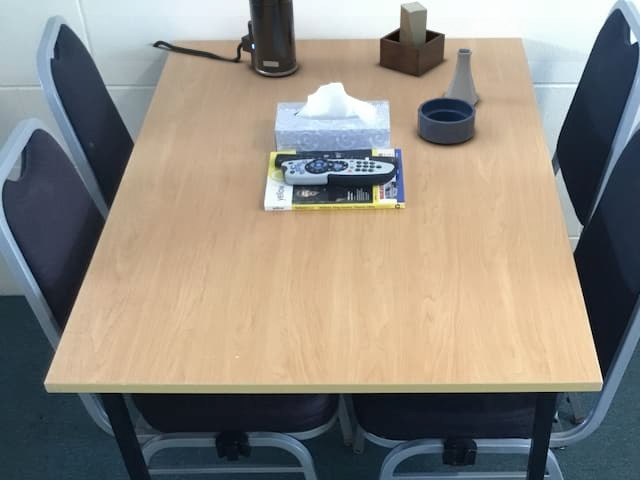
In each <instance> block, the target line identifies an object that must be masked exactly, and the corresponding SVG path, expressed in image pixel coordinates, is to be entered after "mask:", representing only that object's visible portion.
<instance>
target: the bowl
mask: <svg viewBox="0 0 640 480" xmlns="http://www.w3.org/2000/svg"><path fill="white" fill-rule="evenodd" d="M476 115H477V110H476V107H475V105H474V106H473V105H472V104H470V103H469V102H467V101H464V100H461V99H458V98H448V97H444V96H443V97H434V98H431V99H428V100H425V101H423V102H422V103H420V104H419V106H418V108H417V122H416V124H417V125H416V126H417V127H416V130H417V132H418V135H419V136H420V137H422V138H423V139H424V140H427V141H430V142H433V143H436V144H444V145H445V144H446V145H449V144H459V143H461V142H464V141H468V140H469V139H470V138H471V137H473V135H474V133H475V129H476V128H475V127H476V117H477V116H476Z"/></svg>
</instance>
